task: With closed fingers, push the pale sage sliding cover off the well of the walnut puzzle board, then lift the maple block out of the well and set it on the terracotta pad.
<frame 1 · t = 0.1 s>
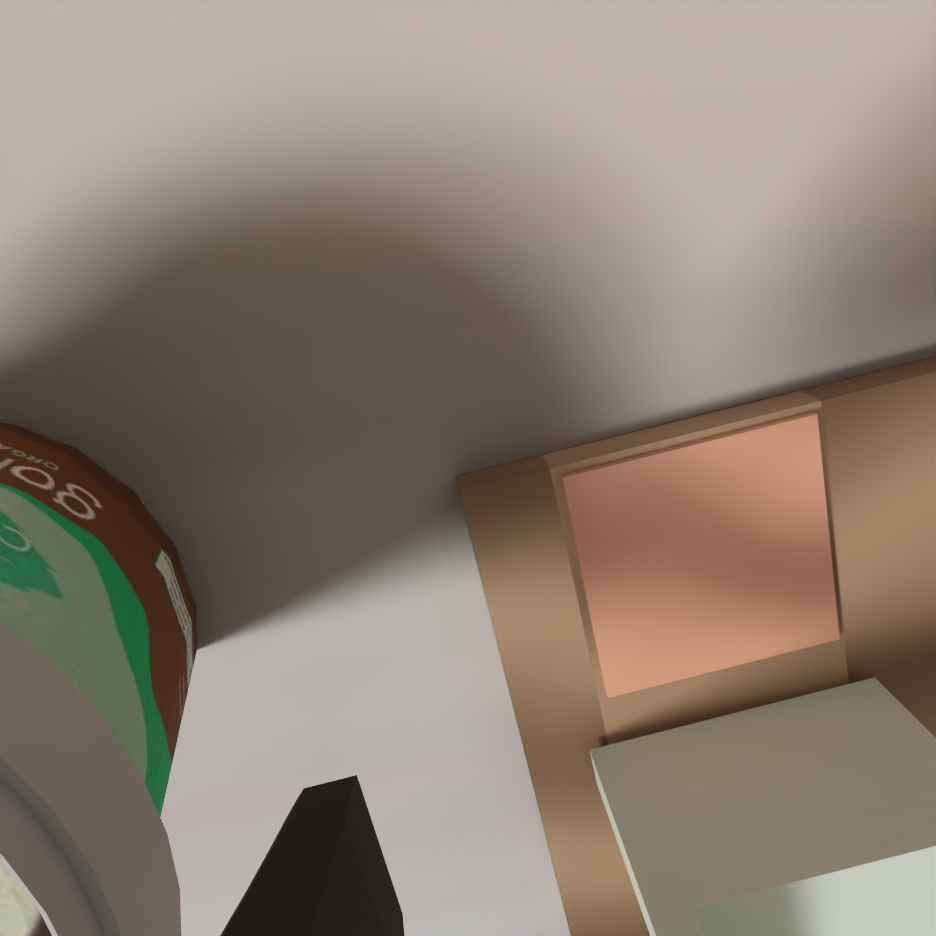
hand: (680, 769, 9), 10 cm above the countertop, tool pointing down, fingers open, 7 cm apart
puzzle board: (906, 668, 21), on the countertop
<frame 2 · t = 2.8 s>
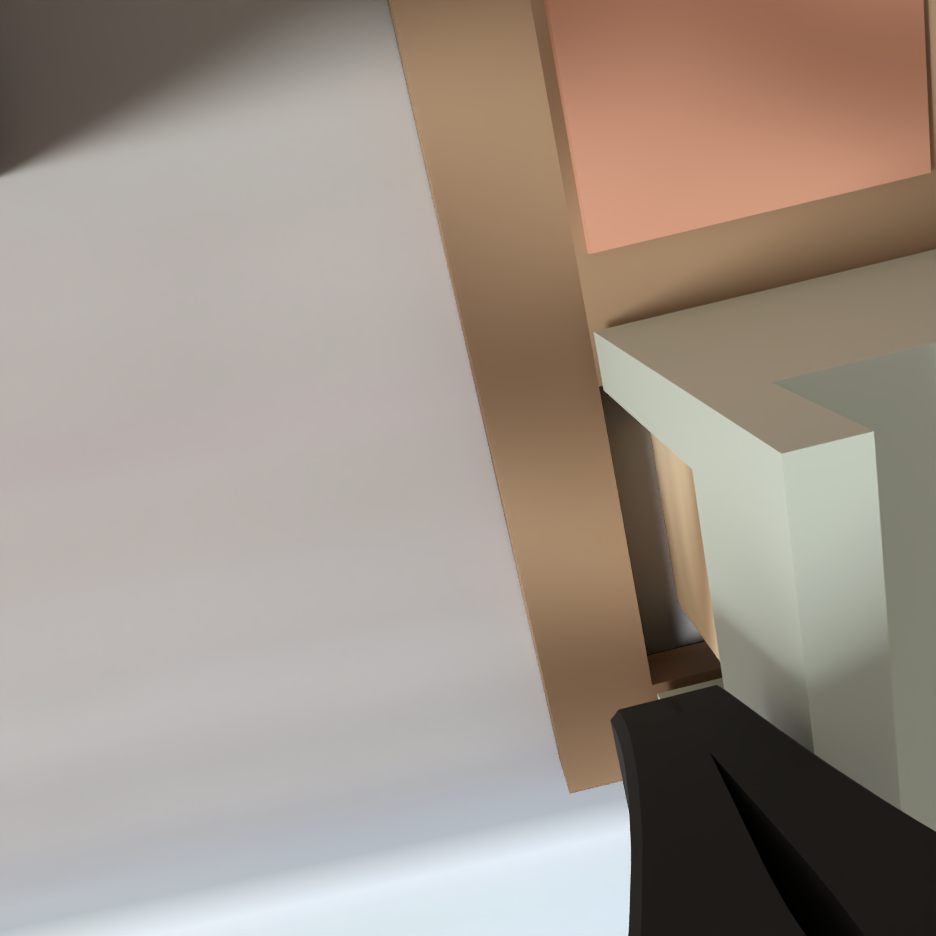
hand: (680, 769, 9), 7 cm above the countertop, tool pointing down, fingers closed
maple block: (762, 486, 16), resting in puzzle board
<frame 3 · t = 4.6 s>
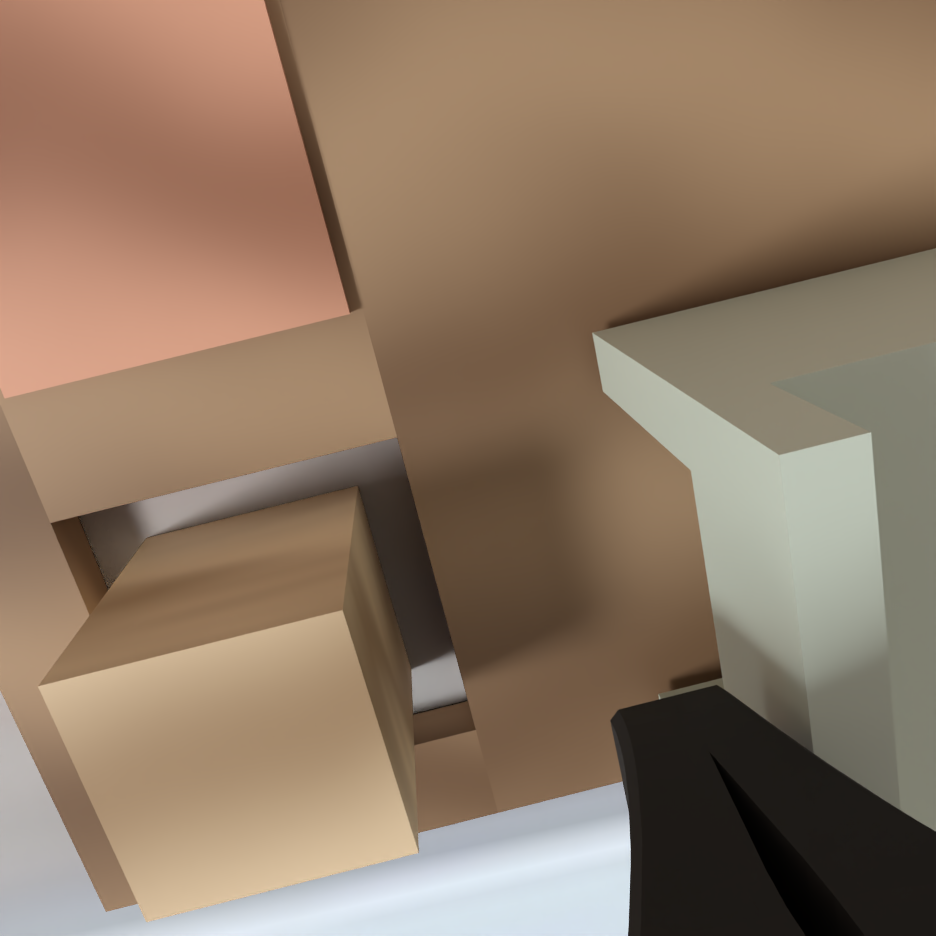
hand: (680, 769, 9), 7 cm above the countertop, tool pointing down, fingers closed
maple block: (284, 605, 16), resting in puzzle board
puzzle board: (504, 395, 15), on the countertop
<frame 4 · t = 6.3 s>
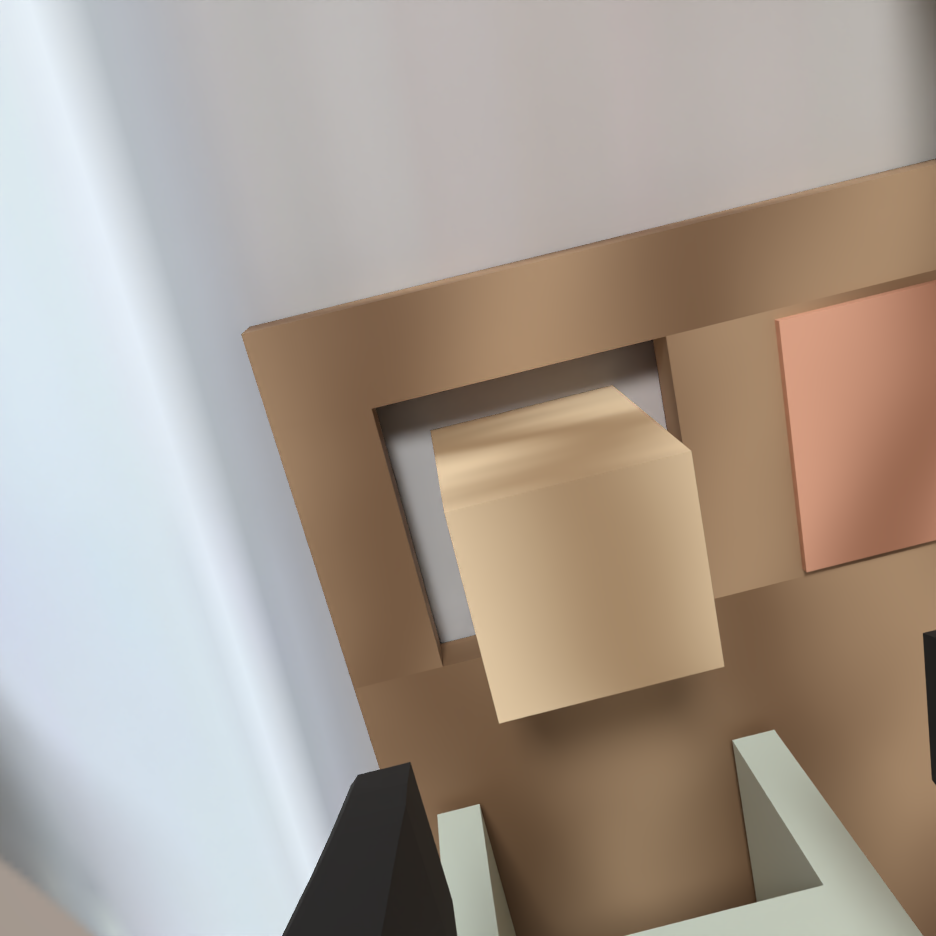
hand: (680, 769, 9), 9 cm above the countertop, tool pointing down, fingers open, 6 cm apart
maple block: (539, 492, 18), resting in puzzle board
puzzle board: (703, 654, 20), on the countertop
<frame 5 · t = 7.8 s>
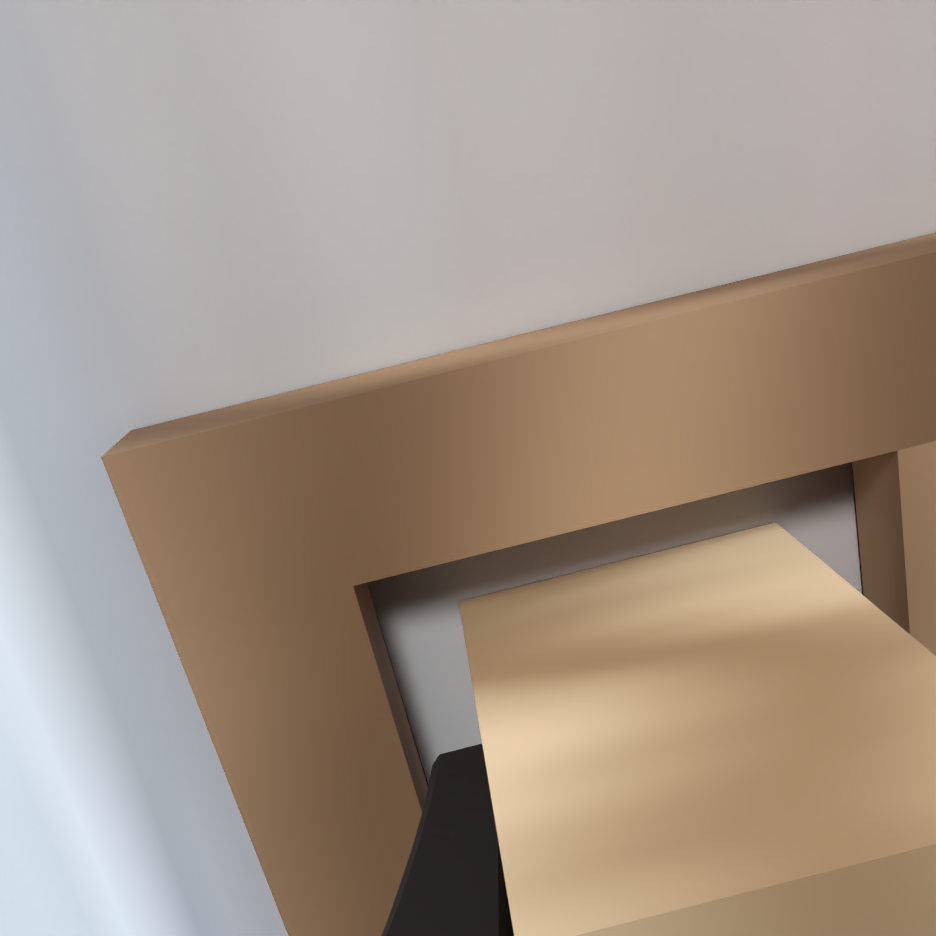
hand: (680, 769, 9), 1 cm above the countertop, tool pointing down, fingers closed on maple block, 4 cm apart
maple block: (643, 698, 11), resting in puzzle board, touching gripper
puzzle board: (892, 931, 12), on the countertop
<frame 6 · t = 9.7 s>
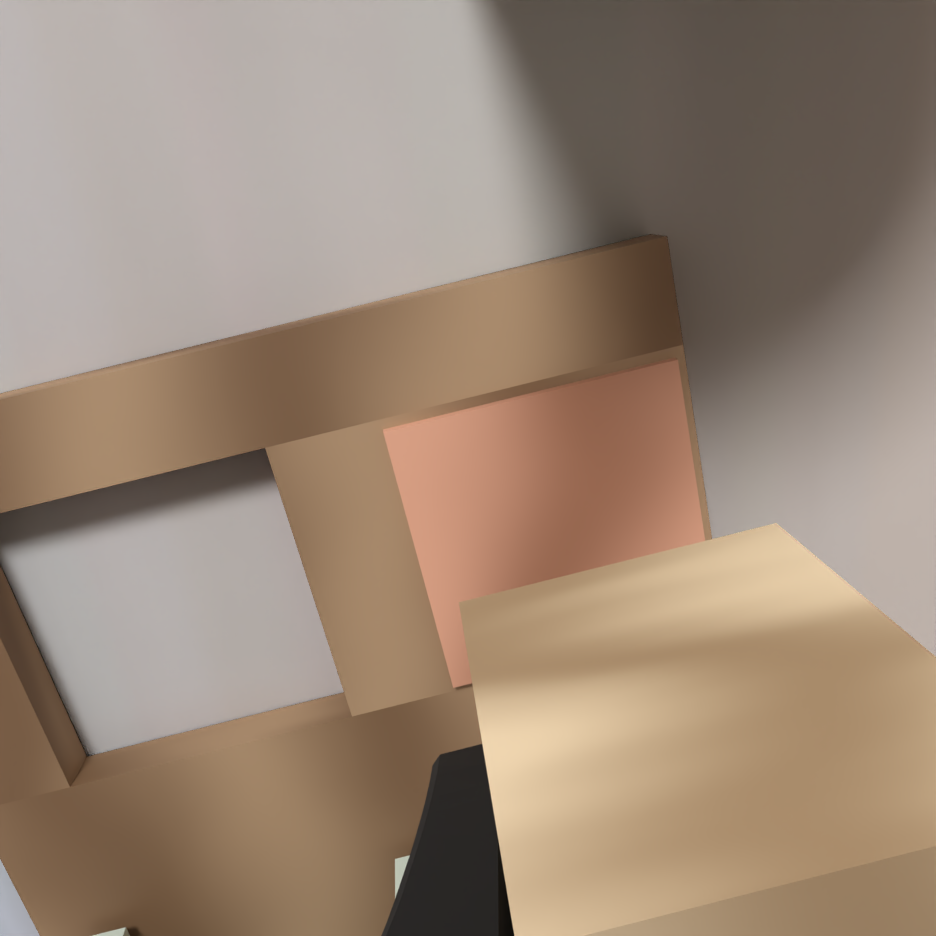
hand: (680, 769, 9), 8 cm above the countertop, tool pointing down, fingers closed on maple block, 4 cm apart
maple block: (643, 699, 11), point 7 cm above the countertop, touching gripper
puzzle board: (377, 763, 19), on the countertop
when the fingers open (4 cm above the countertop, at t = 10.9 s): maple block stays where it is, resting on puzzle board.
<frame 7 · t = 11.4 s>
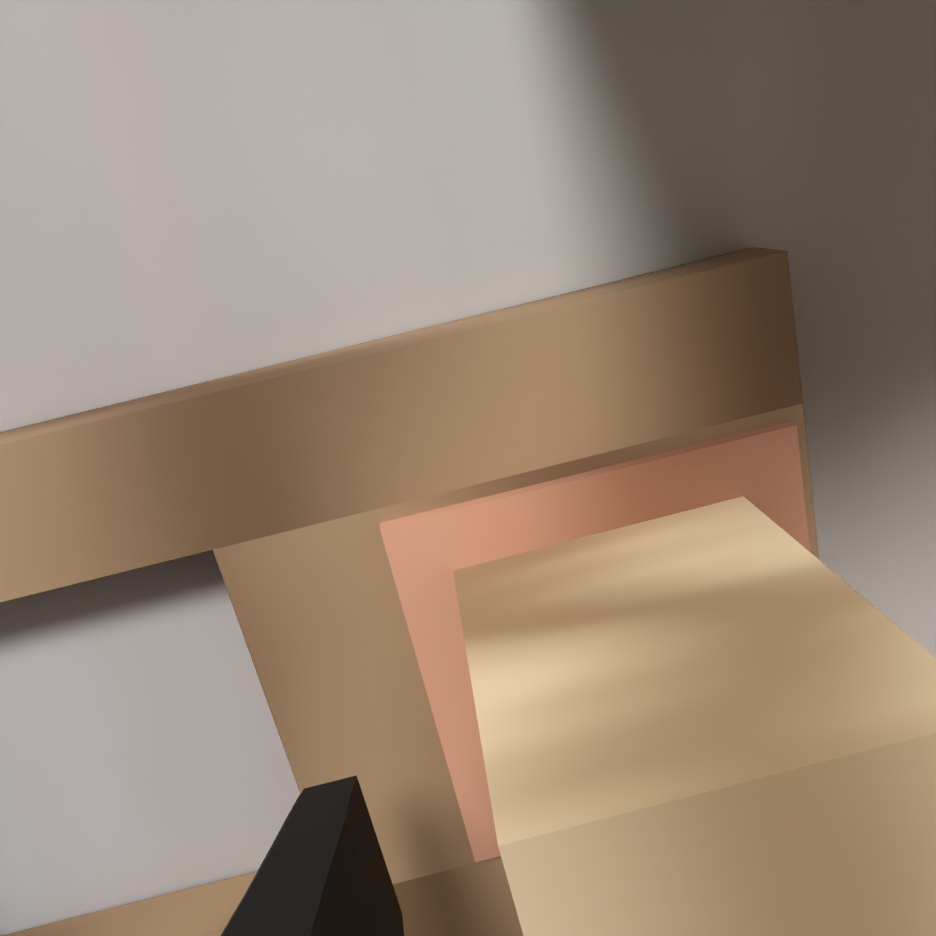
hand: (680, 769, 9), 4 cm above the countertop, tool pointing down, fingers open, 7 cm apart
maple block: (624, 660, 12), point 1 cm above the countertop, touching puzzle board
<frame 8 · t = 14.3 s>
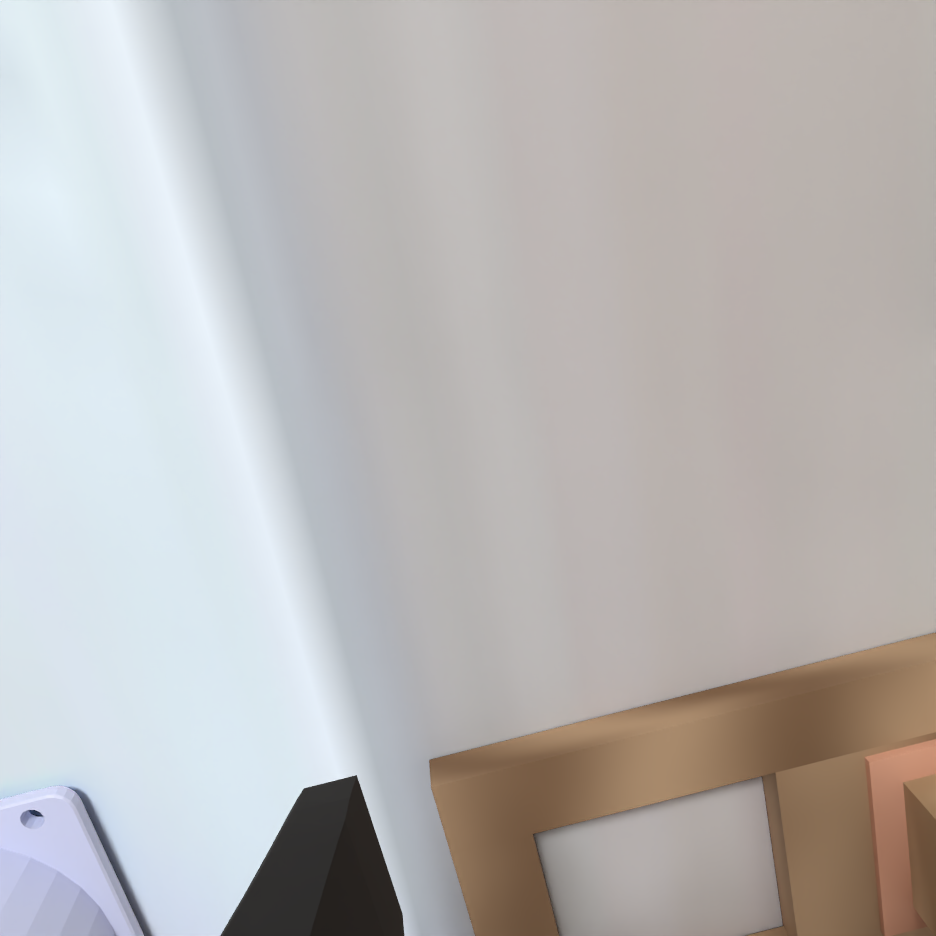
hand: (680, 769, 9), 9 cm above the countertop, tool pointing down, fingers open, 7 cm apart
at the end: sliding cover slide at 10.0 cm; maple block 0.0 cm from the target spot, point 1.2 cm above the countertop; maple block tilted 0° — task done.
